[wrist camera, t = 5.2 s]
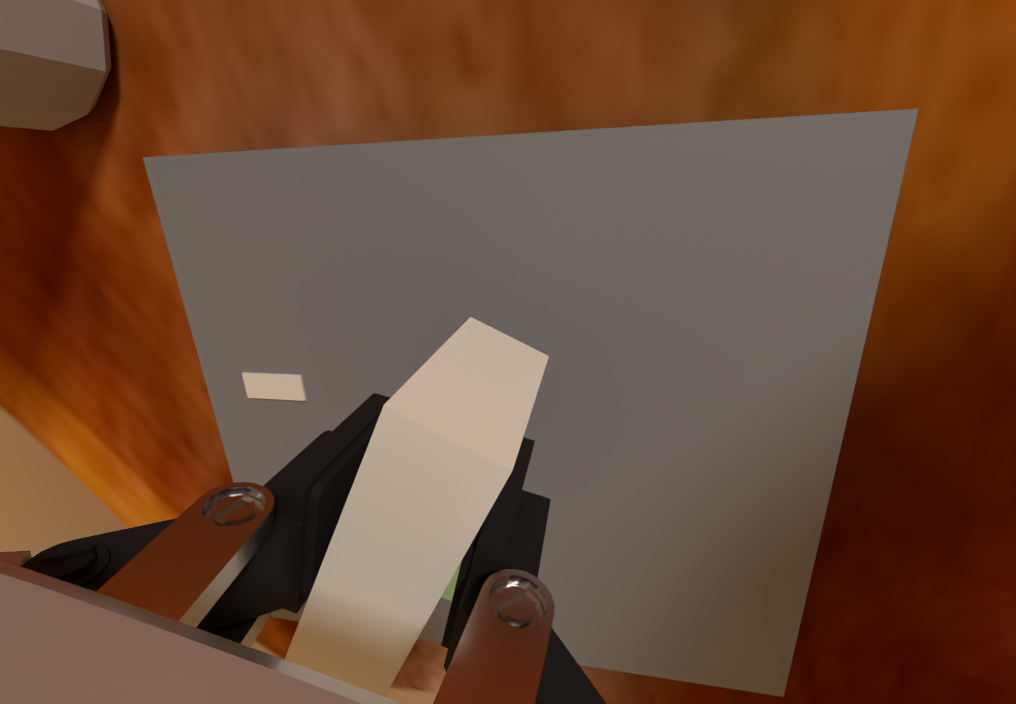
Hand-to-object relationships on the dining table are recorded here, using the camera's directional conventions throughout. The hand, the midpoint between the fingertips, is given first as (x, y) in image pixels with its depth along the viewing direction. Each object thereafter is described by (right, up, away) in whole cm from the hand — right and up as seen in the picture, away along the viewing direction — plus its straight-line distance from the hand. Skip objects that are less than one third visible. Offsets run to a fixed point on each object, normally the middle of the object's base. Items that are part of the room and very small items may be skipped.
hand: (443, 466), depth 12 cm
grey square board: (+1, 0, +7) cm, 7 cm away
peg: (0, -1, +5) cm, 5 cm away
